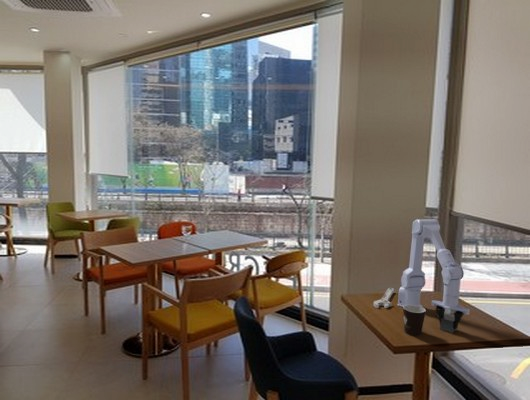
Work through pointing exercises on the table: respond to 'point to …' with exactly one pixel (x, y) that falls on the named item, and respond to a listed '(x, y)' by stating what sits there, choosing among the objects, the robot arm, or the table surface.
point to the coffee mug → (413, 319)
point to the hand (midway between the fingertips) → (448, 326)
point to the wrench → (384, 299)
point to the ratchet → (449, 312)
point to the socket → (447, 324)
